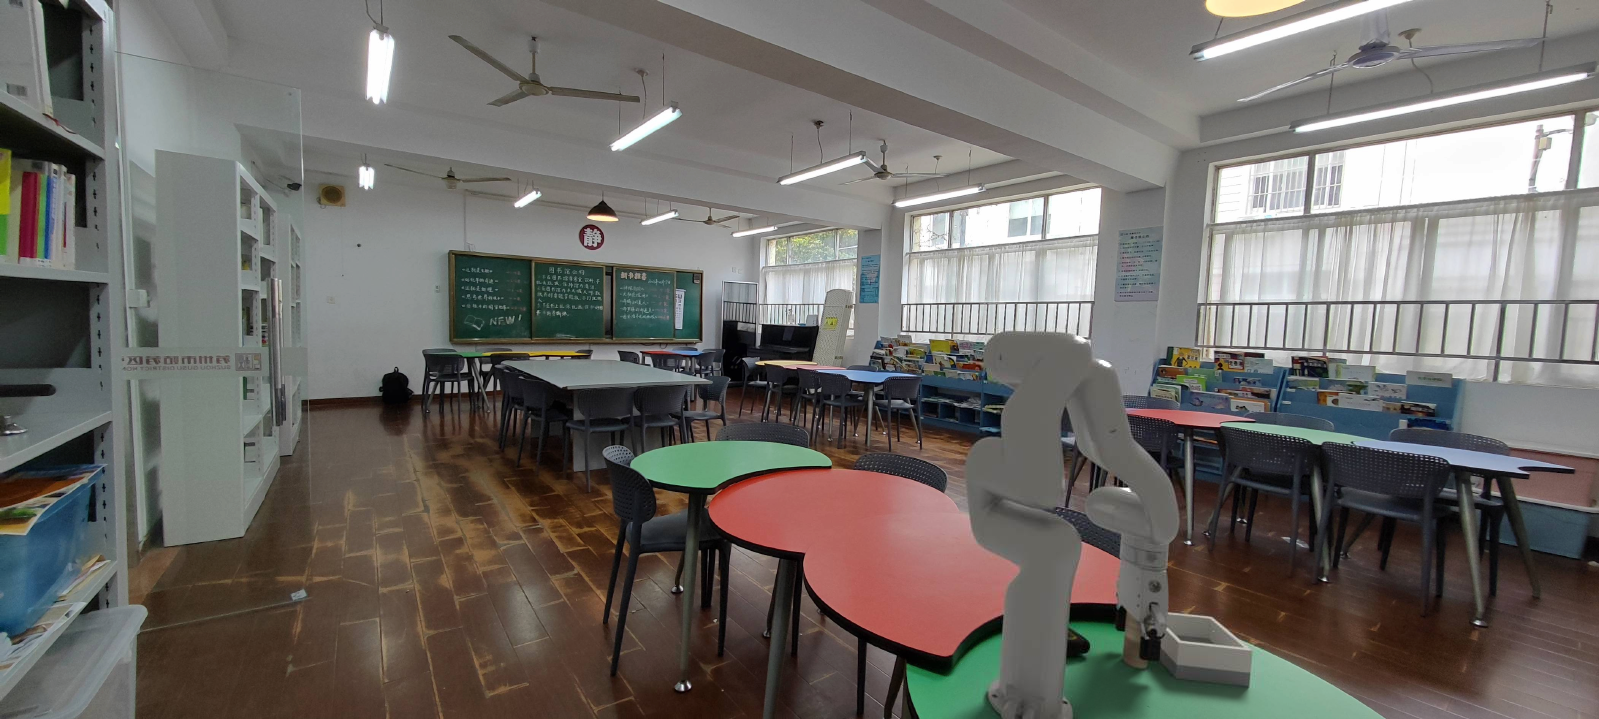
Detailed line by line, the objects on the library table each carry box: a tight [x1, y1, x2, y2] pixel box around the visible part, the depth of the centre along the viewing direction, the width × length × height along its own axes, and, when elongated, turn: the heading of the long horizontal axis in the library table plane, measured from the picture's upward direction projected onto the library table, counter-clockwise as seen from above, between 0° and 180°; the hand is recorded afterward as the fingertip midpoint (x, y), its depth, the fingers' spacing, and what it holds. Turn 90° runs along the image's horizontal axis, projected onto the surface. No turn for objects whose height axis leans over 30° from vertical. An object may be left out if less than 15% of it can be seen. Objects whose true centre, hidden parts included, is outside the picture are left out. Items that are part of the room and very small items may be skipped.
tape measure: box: [1066, 626, 1091, 658], centre depth 109 cm, size 7×7×4 cm
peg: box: [1121, 611, 1152, 670], centre depth 105 cm, size 4×4×10 cm
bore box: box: [1151, 611, 1253, 688], centre depth 106 cm, size 12×12×6 cm
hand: (1136, 644), depth 105 cm, fingers open, 9 cm apart
